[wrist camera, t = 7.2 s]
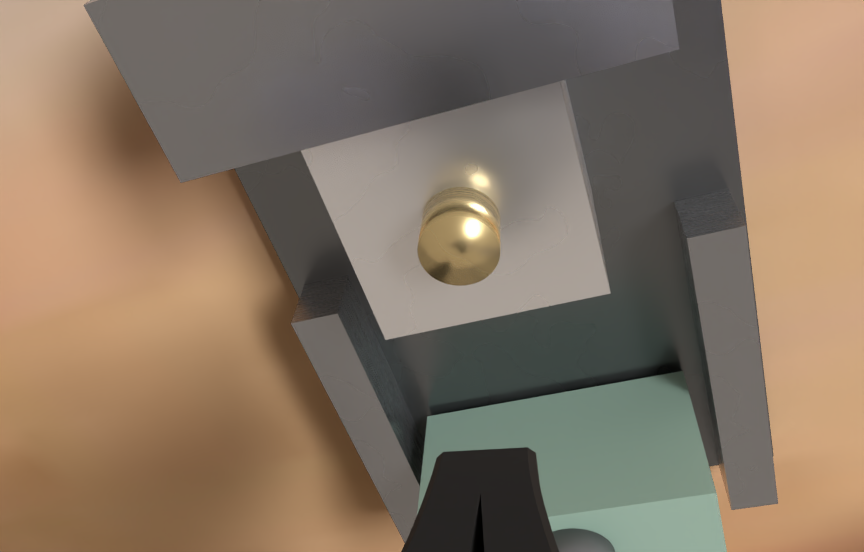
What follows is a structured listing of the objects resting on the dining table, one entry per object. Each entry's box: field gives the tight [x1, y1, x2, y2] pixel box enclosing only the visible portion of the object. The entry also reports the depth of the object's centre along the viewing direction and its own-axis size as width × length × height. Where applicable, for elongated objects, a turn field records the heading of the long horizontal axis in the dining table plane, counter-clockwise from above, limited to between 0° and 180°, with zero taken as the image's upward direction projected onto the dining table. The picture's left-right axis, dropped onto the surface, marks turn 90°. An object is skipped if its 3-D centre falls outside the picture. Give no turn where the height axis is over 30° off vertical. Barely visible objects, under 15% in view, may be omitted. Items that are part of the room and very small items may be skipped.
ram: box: [417, 371, 727, 552], centre depth 20 cm, size 3×7×5 cm, turn 108°
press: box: [84, 0, 778, 543], centre depth 18 cm, size 18×11×6 cm, turn 18°
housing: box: [301, 80, 611, 340], centre depth 16 cm, size 4×4×5 cm
